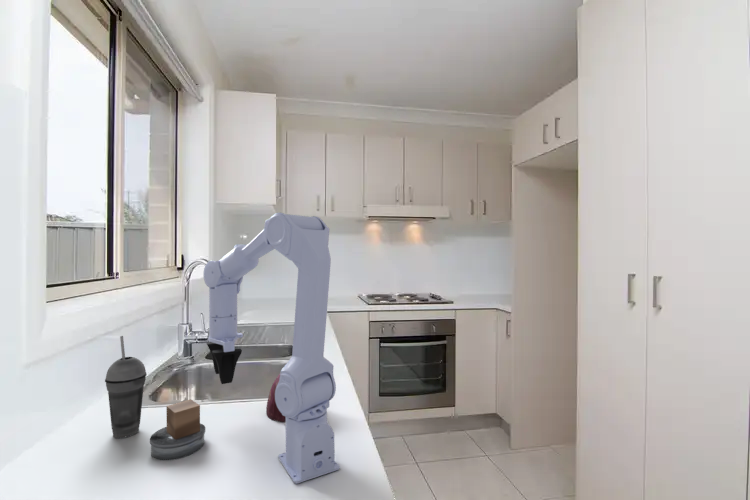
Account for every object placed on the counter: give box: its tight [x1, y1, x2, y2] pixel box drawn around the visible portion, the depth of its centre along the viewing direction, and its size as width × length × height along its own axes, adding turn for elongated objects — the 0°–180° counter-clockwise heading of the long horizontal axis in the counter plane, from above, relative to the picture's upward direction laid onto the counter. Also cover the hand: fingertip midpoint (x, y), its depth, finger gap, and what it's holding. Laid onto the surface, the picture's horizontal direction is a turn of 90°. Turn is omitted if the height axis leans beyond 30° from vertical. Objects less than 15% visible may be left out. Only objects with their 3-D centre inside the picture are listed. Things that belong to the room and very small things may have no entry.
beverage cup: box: [104, 335, 147, 439], centre depth 77 cm, size 7×7×20 cm
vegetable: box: [265, 373, 286, 423], centre depth 88 cm, size 10×10×15 cm
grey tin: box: [149, 422, 206, 461], centre depth 71 cm, size 9×9×3 cm
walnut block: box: [166, 399, 201, 440], centre depth 72 cm, size 4×4×5 cm
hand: (223, 377), depth 82 cm, fingers open, 7 cm apart
